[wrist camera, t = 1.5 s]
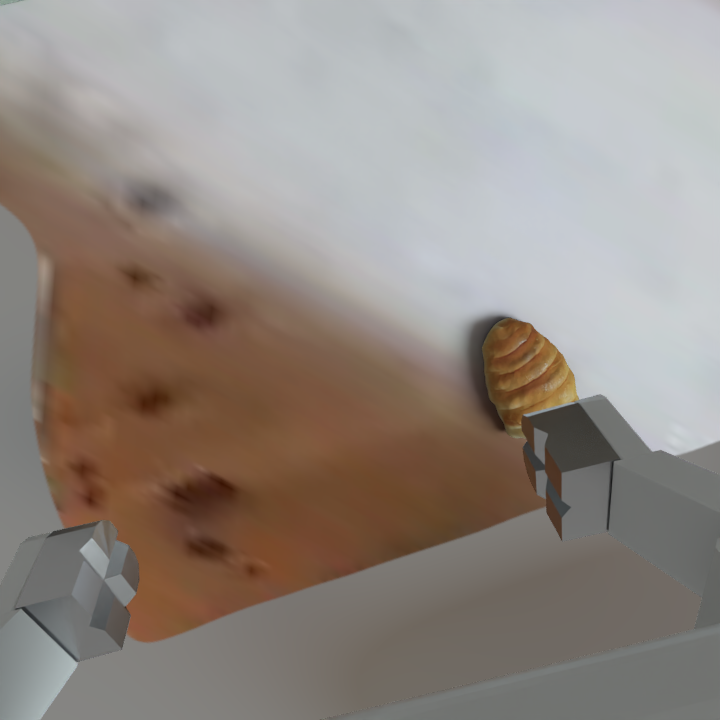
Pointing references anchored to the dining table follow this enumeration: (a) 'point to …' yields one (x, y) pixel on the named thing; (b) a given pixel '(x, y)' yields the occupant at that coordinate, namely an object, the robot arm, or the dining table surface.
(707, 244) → the dining table surface
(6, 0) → the white two-tone stepped block
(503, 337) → the pastry
